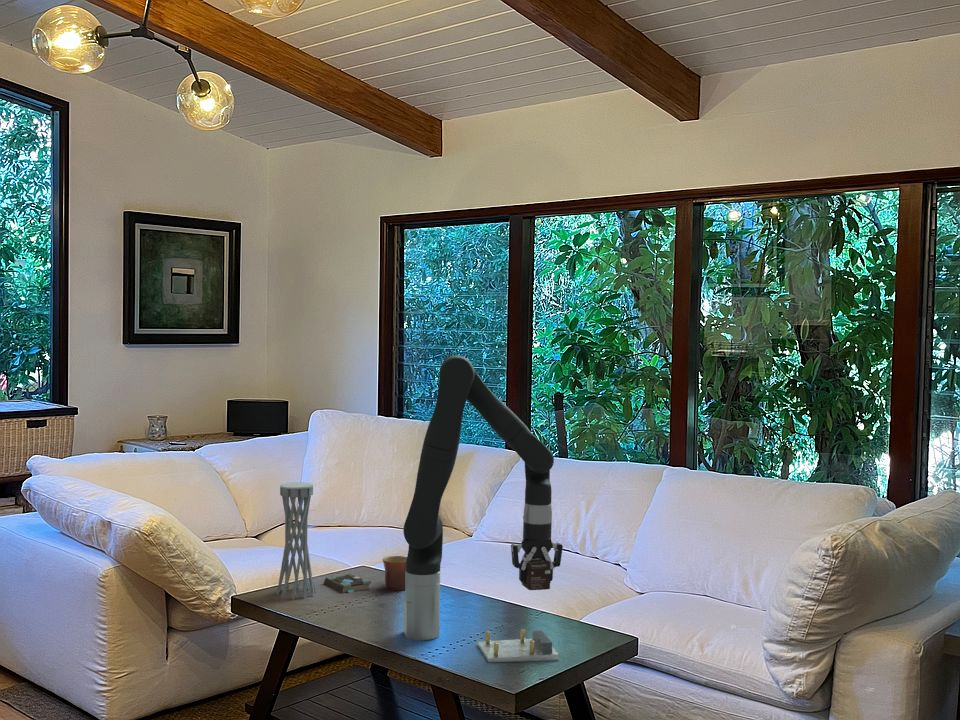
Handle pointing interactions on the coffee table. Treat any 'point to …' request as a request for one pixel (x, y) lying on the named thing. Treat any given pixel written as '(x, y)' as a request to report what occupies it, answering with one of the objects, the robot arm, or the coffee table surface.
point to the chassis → (519, 648)
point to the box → (537, 574)
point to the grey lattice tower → (296, 537)
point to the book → (347, 583)
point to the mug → (394, 573)
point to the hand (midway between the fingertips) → (535, 582)
